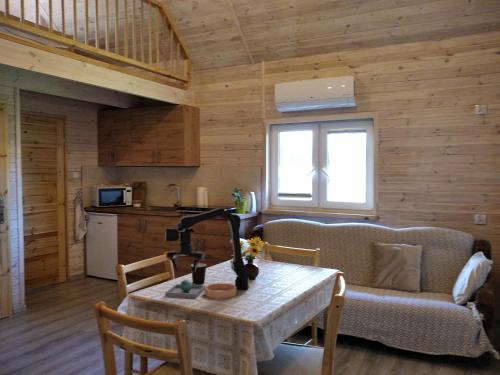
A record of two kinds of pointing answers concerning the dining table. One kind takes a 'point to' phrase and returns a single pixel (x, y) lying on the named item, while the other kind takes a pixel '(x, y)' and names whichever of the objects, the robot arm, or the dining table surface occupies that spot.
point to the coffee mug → (198, 273)
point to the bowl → (220, 290)
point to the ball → (185, 286)
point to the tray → (177, 292)
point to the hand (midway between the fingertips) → (185, 271)
